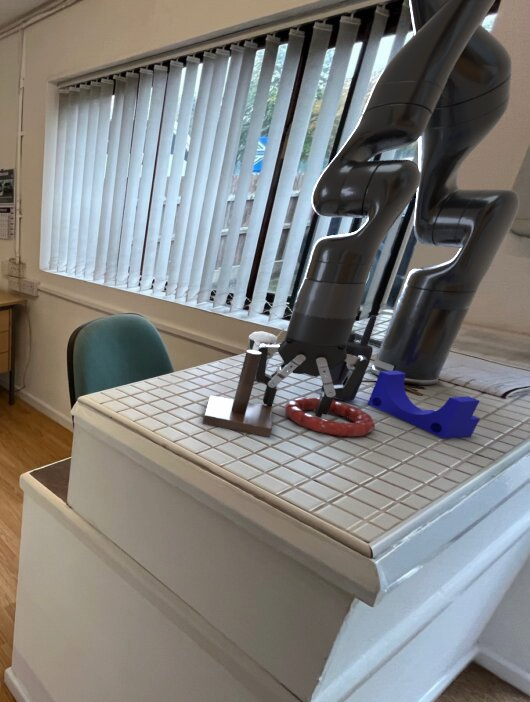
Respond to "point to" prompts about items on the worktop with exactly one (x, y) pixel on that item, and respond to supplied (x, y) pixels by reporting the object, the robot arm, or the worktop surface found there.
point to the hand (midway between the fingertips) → (292, 410)
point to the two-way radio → (356, 350)
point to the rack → (241, 404)
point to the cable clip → (443, 422)
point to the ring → (325, 426)
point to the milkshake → (261, 340)
